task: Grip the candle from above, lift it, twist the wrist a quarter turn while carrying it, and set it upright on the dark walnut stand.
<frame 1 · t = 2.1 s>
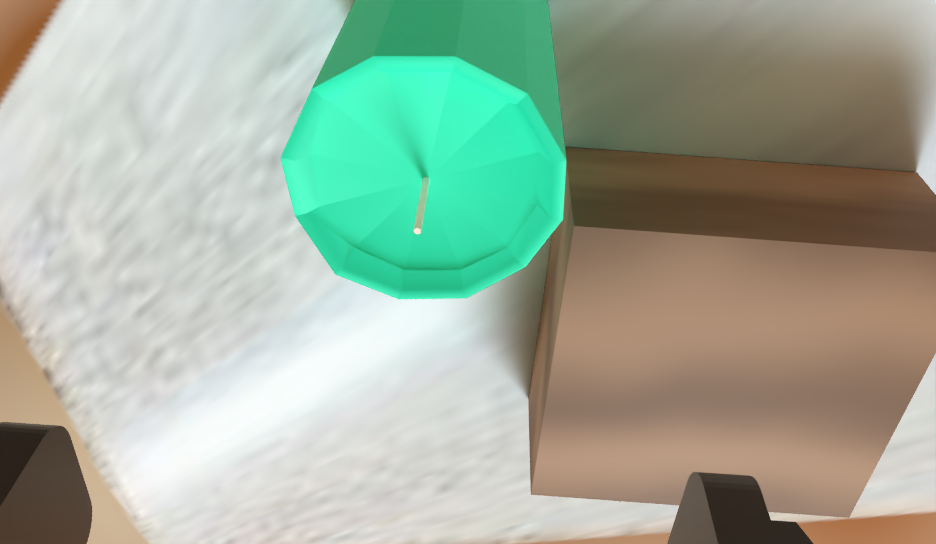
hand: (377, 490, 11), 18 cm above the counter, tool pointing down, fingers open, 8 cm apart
candle: (453, 19, 26), on the counter
walnut stand: (700, 299, 31), on the counter
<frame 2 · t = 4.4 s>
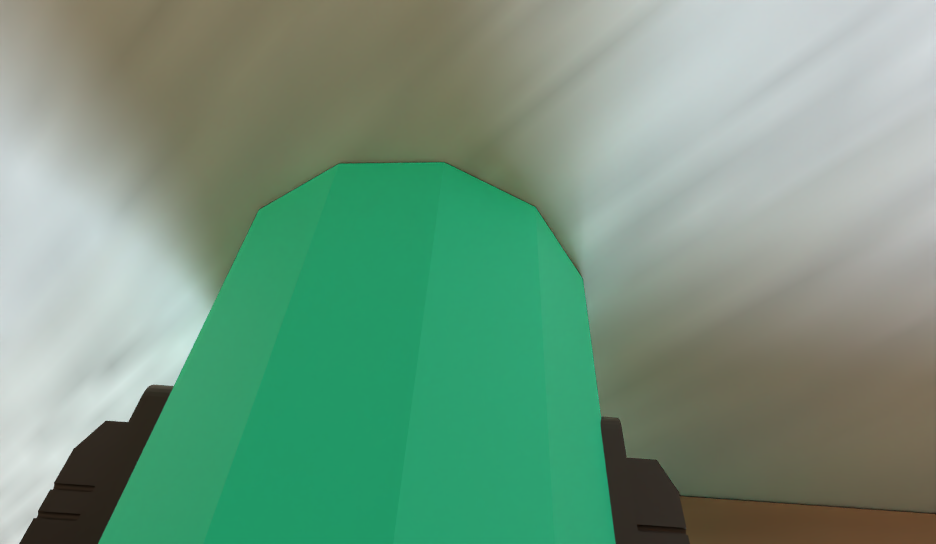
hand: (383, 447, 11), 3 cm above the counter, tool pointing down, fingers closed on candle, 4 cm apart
candle: (407, 310, 14), on the counter, touching gripper
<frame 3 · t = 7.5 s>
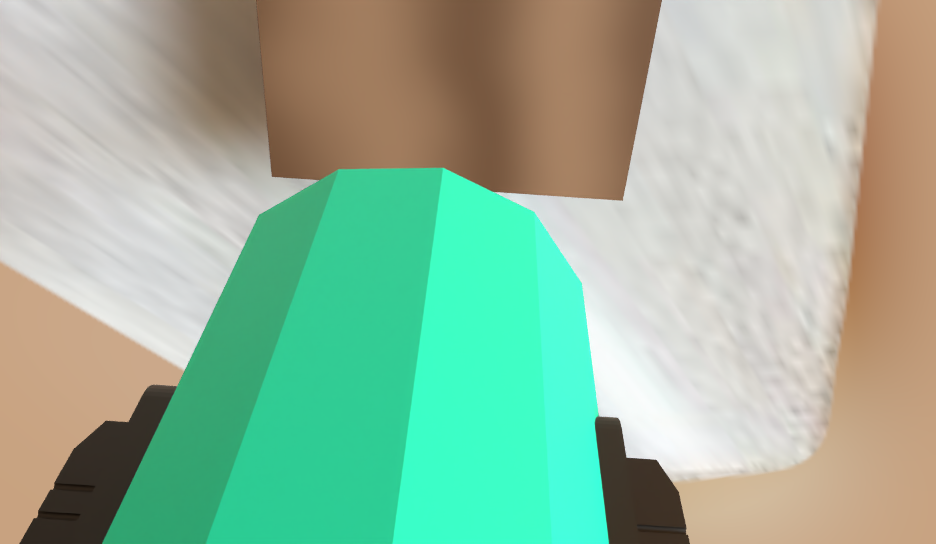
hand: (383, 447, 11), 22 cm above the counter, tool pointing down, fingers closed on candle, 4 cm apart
candle: (407, 314, 14), point 18 cm above the counter, touching gripper
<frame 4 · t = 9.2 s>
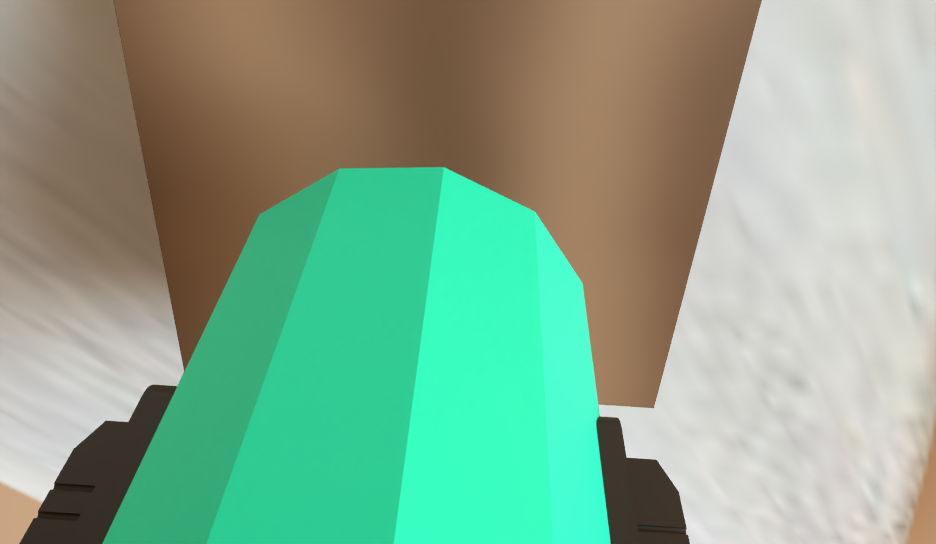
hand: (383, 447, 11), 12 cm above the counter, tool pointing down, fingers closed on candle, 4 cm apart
candle: (408, 314, 14), point 9 cm above the counter, touching gripper
walnut stand: (441, 93, 21), on the counter
when the fingers open (9 cm above the counter, at t = 10.7 s): candle drops 1 cm, resting on walnut stand.
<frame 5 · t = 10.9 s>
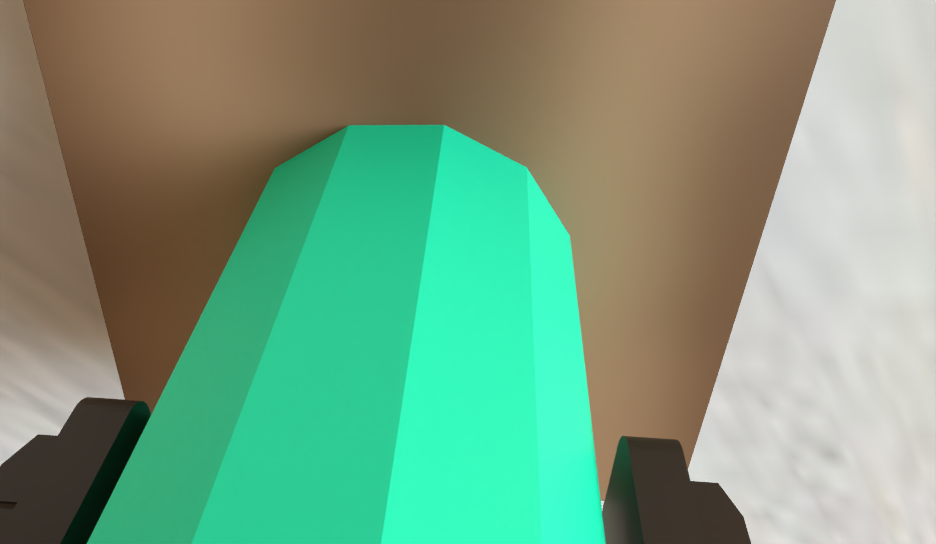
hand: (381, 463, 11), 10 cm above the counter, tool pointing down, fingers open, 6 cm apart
candle: (409, 265, 15), point 5 cm above the counter, touching walnut stand
walnut stand: (434, 145, 19), on the counter
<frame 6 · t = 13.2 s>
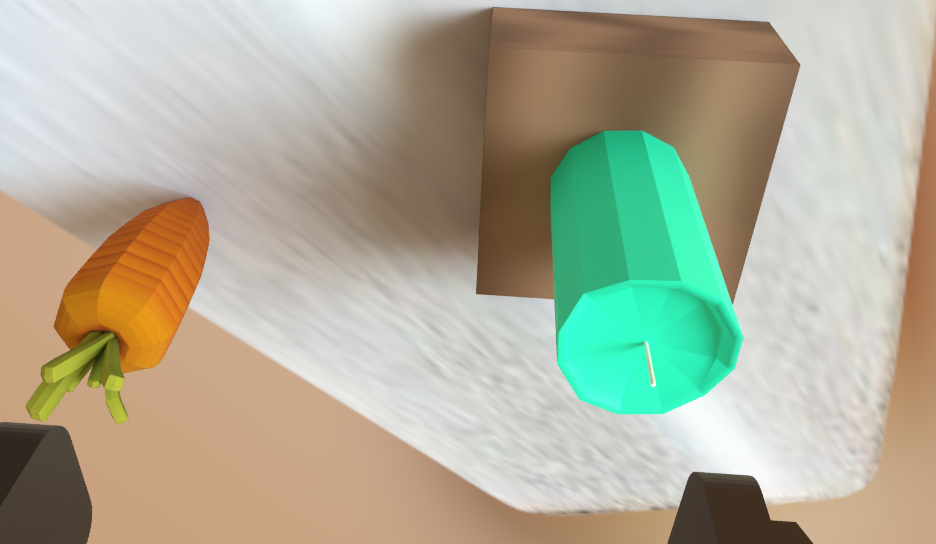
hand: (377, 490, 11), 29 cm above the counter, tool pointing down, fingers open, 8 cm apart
candle: (617, 190, 35), point 5 cm above the counter, touching walnut stand
walnut stand: (611, 139, 39), on the counter
carrot: (196, 200, 43), on the counter
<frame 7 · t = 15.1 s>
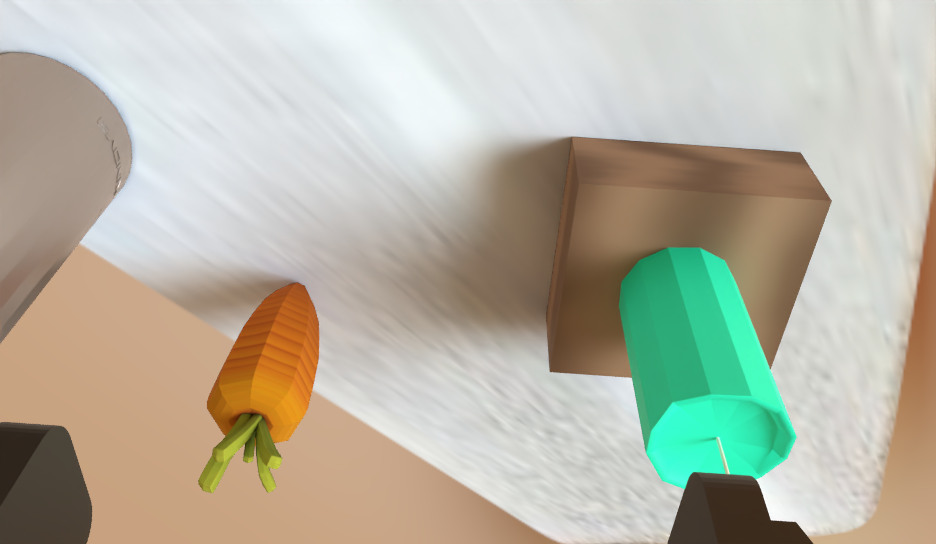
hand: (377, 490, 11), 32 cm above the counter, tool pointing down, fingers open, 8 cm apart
candle: (675, 292, 42), point 5 cm above the counter, touching walnut stand
walnut stand: (663, 240, 46), on the counter
carrot: (299, 284, 49), on the counter
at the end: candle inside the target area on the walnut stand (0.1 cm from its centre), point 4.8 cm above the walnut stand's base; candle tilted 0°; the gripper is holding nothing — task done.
